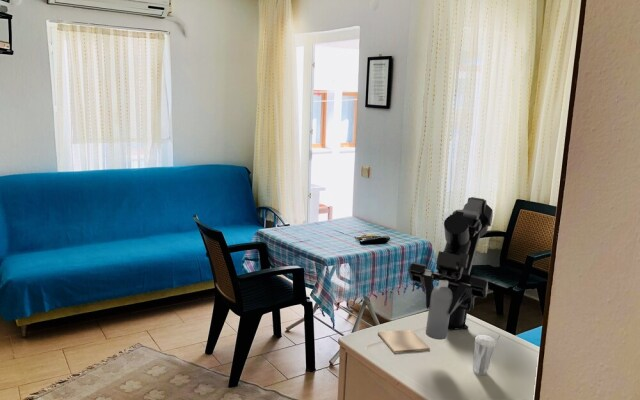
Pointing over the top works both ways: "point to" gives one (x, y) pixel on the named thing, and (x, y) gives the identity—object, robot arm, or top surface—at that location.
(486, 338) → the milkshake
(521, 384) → the top surface
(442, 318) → the grey bottle
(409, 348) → the cork mat
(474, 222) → the robot arm
